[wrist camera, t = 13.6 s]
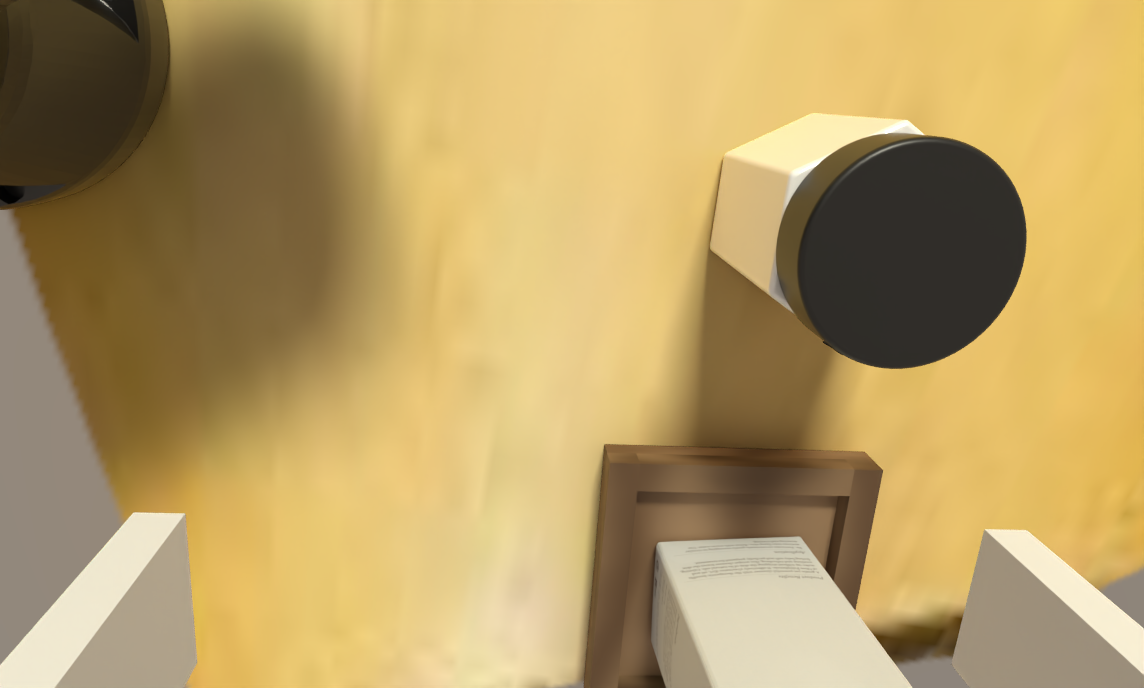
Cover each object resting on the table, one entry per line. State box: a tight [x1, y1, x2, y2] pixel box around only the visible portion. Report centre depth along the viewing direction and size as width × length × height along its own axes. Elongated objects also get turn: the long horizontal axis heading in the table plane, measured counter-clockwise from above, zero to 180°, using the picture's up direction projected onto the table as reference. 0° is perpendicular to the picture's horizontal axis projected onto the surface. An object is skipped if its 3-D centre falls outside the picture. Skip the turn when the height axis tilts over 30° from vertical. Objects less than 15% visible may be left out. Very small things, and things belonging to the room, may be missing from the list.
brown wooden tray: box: [584, 444, 883, 688], centre depth 44 cm, size 14×15×2 cm
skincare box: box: [651, 536, 912, 688], centre depth 36 cm, size 8×7×16 cm
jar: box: [710, 113, 1026, 369], centre depth 33 cm, size 9×8×12 cm
